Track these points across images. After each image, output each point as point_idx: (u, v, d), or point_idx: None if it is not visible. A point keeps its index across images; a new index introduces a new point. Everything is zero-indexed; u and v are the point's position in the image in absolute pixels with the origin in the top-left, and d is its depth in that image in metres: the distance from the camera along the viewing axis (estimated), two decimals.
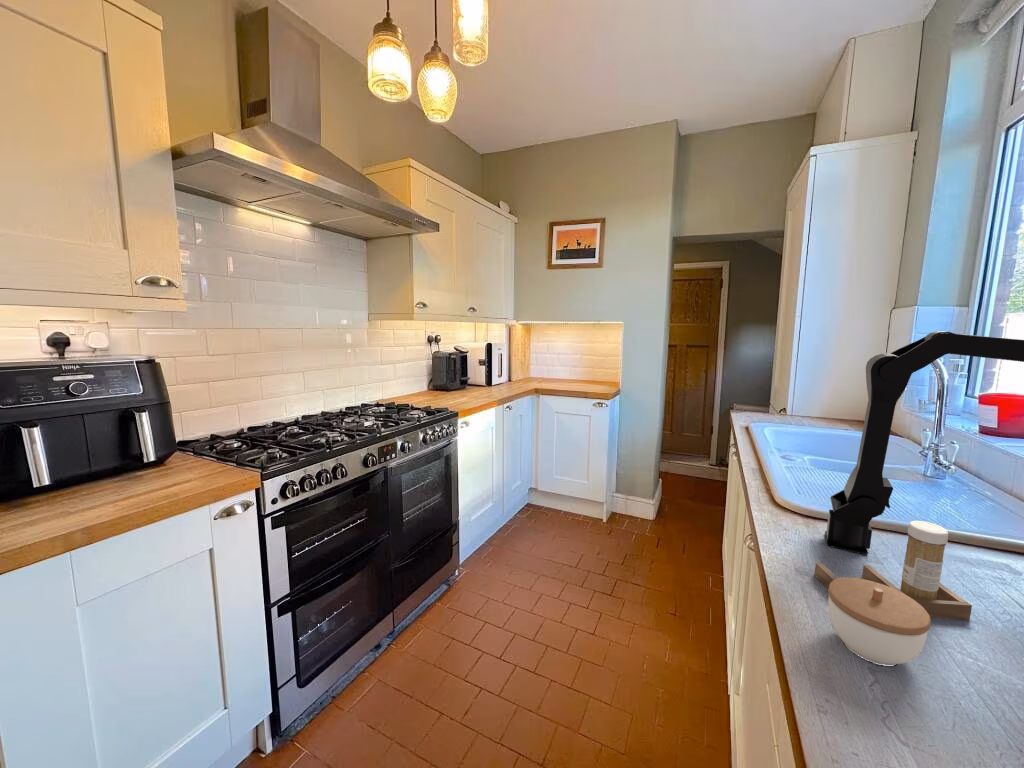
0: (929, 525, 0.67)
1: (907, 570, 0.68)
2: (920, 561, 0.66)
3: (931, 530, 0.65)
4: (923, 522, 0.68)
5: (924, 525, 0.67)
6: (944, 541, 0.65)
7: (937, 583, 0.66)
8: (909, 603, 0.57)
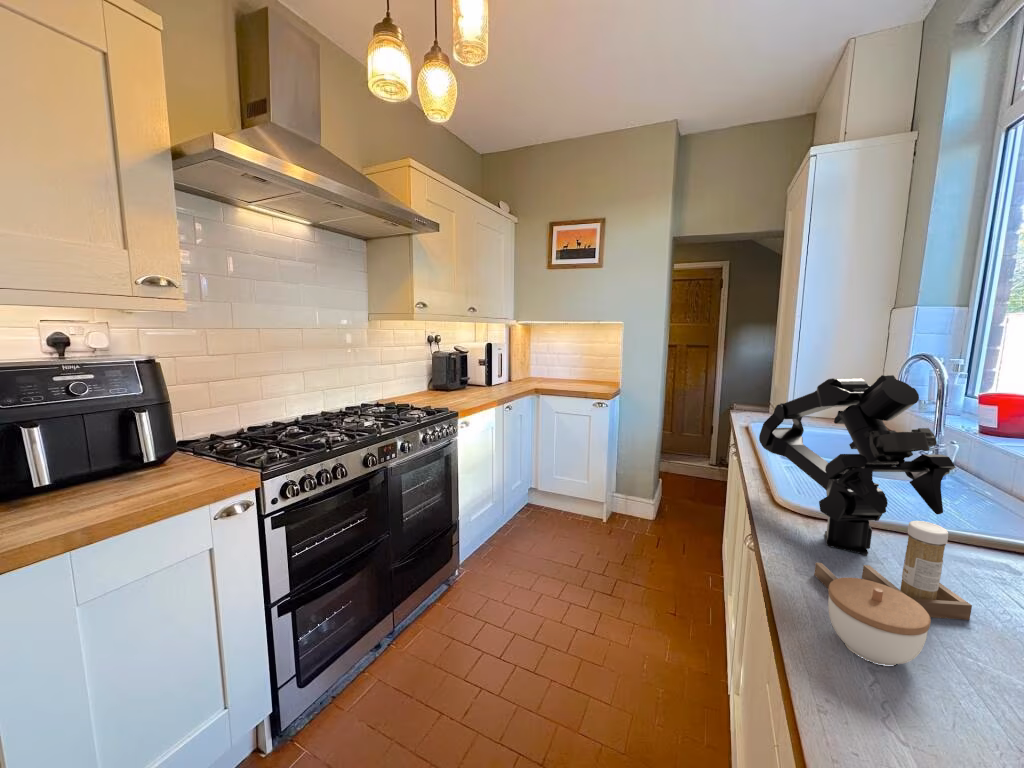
0: (929, 525, 0.67)
1: (907, 570, 0.68)
2: (920, 561, 0.66)
3: (931, 530, 0.65)
4: (923, 522, 0.68)
5: (924, 525, 0.67)
6: (944, 541, 0.65)
7: (937, 583, 0.66)
8: (909, 603, 0.57)
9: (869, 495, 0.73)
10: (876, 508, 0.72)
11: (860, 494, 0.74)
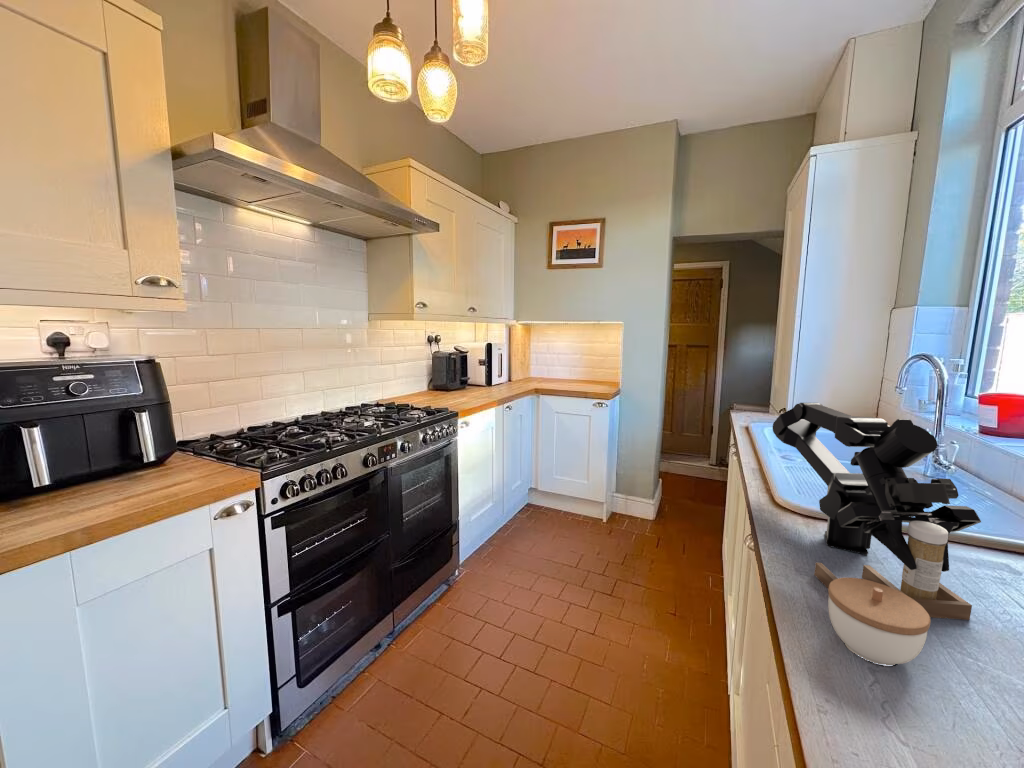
0: (929, 525, 0.67)
1: (907, 570, 0.68)
2: (920, 561, 0.66)
3: (931, 530, 0.65)
4: (923, 522, 0.68)
5: (924, 525, 0.67)
6: (944, 541, 0.65)
7: (937, 583, 0.66)
8: (909, 603, 0.57)
9: (898, 549, 0.68)
10: (906, 563, 0.67)
11: (888, 546, 0.70)
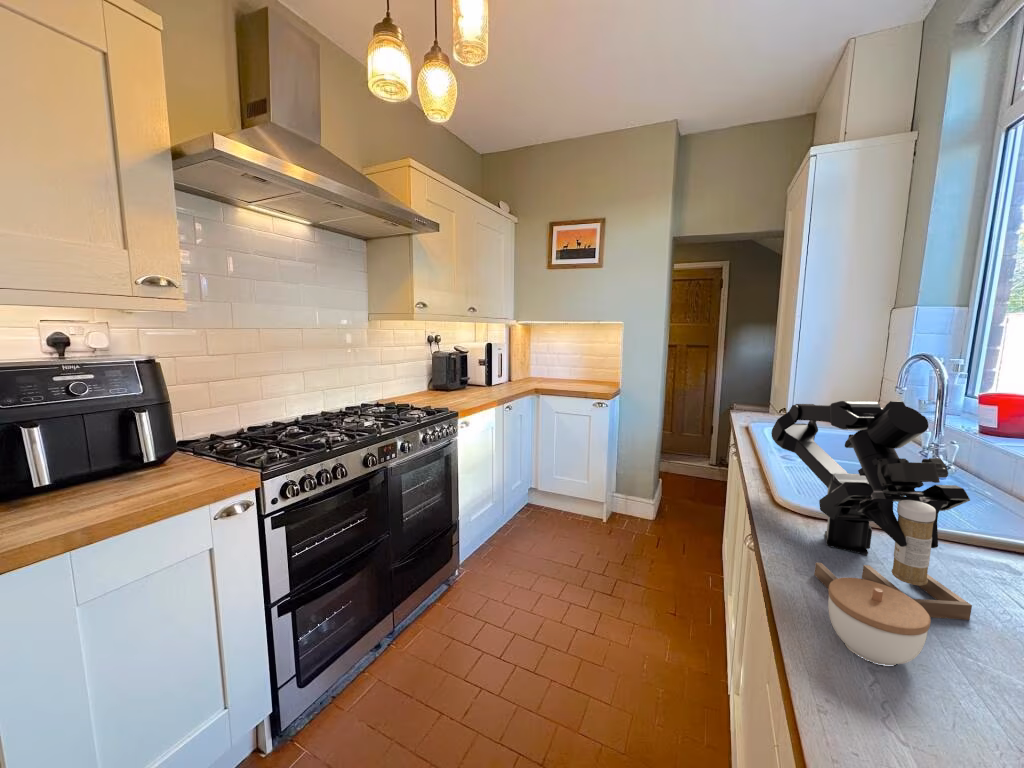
0: (918, 504, 0.69)
1: (898, 548, 0.70)
2: (909, 539, 0.68)
3: (919, 508, 0.67)
4: (912, 501, 0.70)
5: (912, 504, 0.69)
6: (932, 519, 0.66)
7: (927, 559, 0.68)
8: (909, 603, 0.57)
9: (889, 527, 0.70)
10: (896, 540, 0.69)
11: (880, 525, 0.72)
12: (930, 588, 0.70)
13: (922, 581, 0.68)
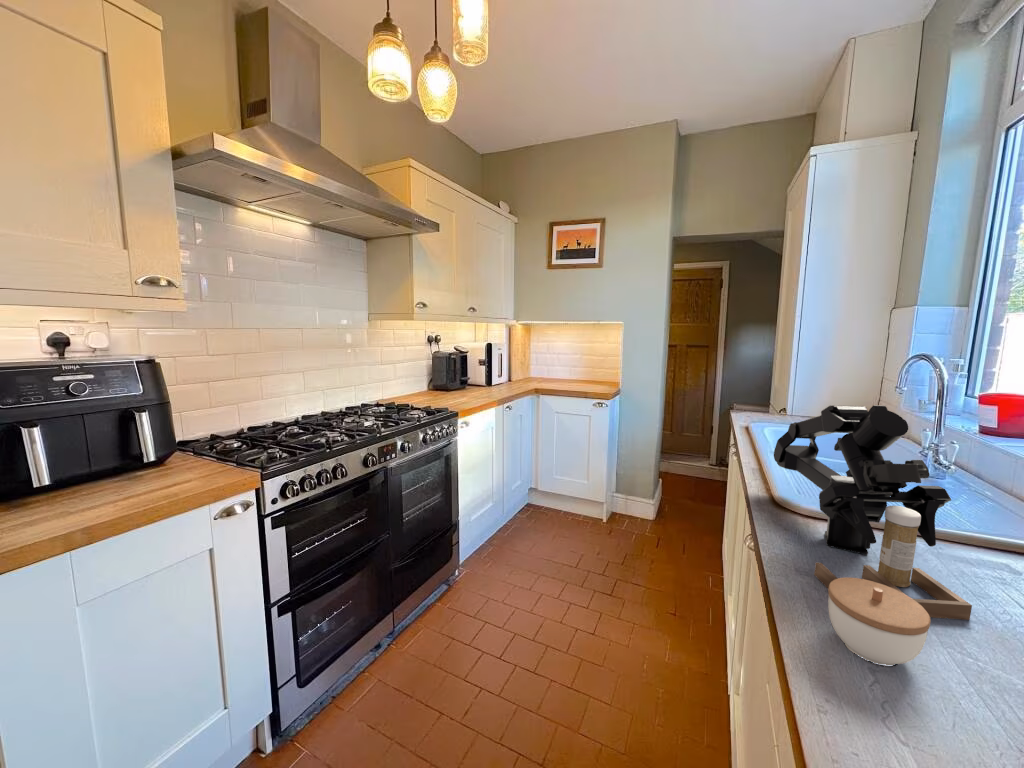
0: (904, 509, 0.72)
1: (884, 551, 0.73)
2: (895, 543, 0.72)
3: (905, 513, 0.71)
4: (898, 507, 0.73)
5: (899, 509, 0.72)
6: (917, 523, 0.70)
7: (911, 563, 0.71)
8: (909, 603, 0.57)
9: (860, 525, 0.74)
10: (867, 538, 0.73)
11: (852, 523, 0.75)
12: (930, 588, 0.70)
13: (905, 583, 0.72)
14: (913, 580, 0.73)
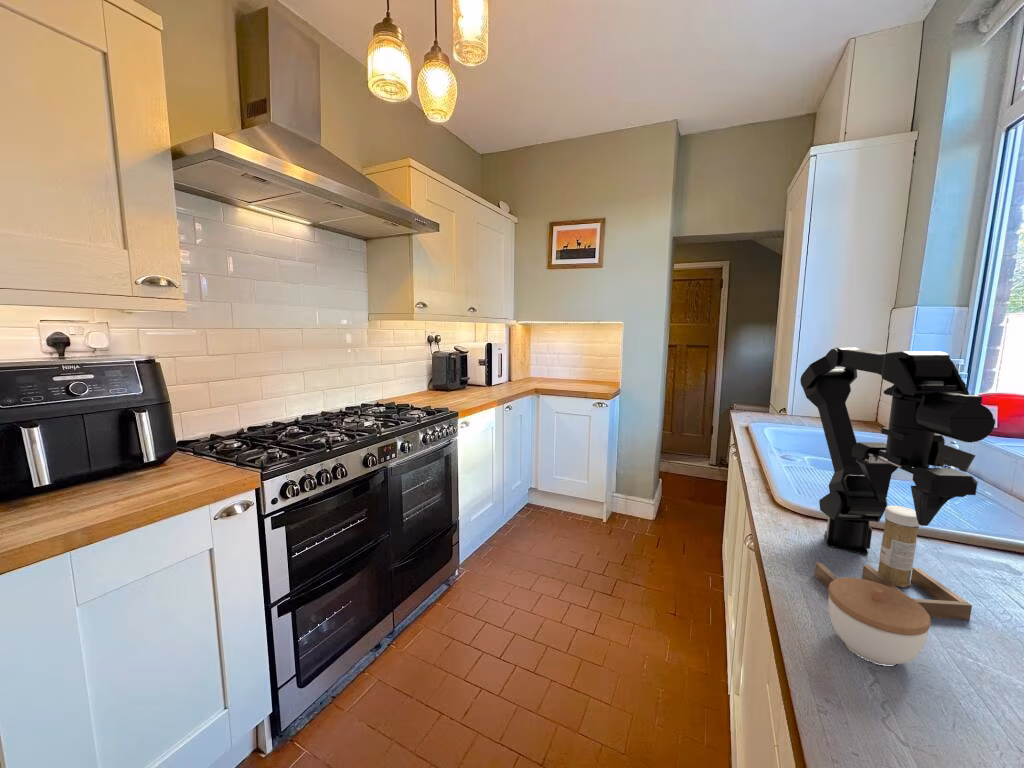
0: (904, 509, 0.72)
1: (884, 551, 0.73)
2: (895, 543, 0.72)
3: (905, 513, 0.71)
4: (898, 507, 0.73)
5: (899, 509, 0.72)
6: (917, 523, 0.70)
7: (911, 562, 0.71)
8: (909, 603, 0.57)
9: (932, 511, 0.66)
10: (923, 521, 0.67)
11: (923, 506, 0.66)
12: (930, 588, 0.70)
13: (905, 583, 0.72)
14: (913, 580, 0.73)
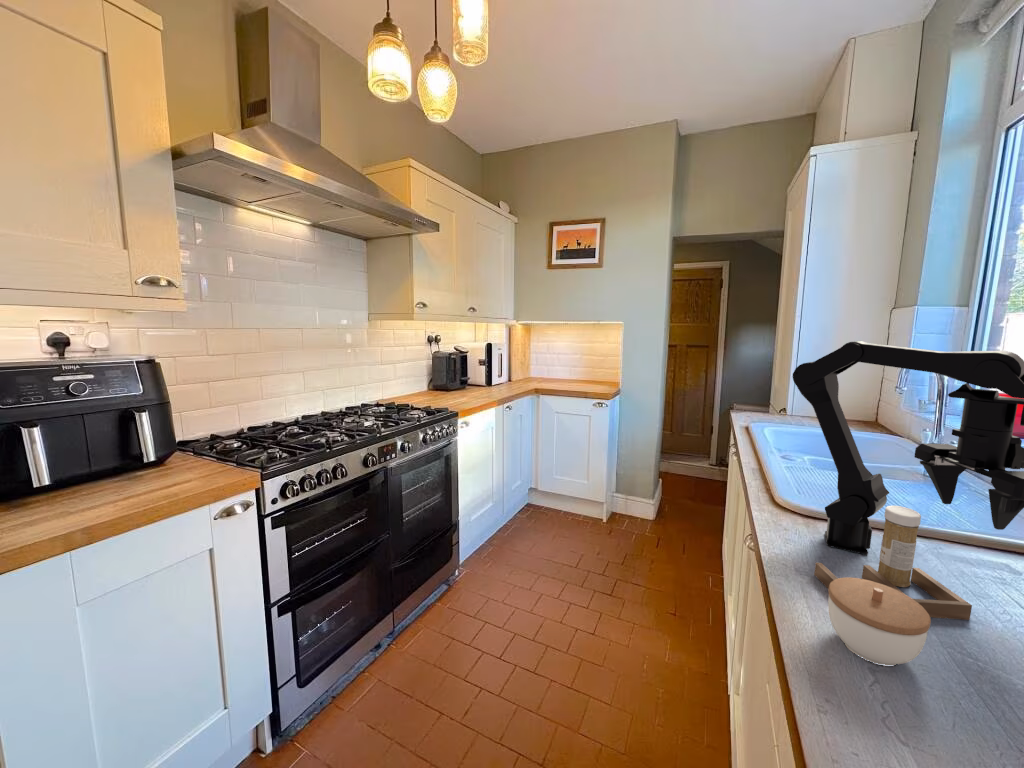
0: (904, 509, 0.72)
1: (884, 551, 0.73)
2: (895, 543, 0.72)
3: (905, 513, 0.71)
4: (898, 507, 0.73)
5: (899, 509, 0.72)
6: (917, 523, 0.70)
7: (911, 563, 0.71)
8: (909, 603, 0.57)
9: (1010, 514, 0.65)
10: (999, 525, 0.66)
11: (1001, 510, 0.64)
12: (930, 588, 0.70)
13: (905, 583, 0.72)
14: (913, 580, 0.73)
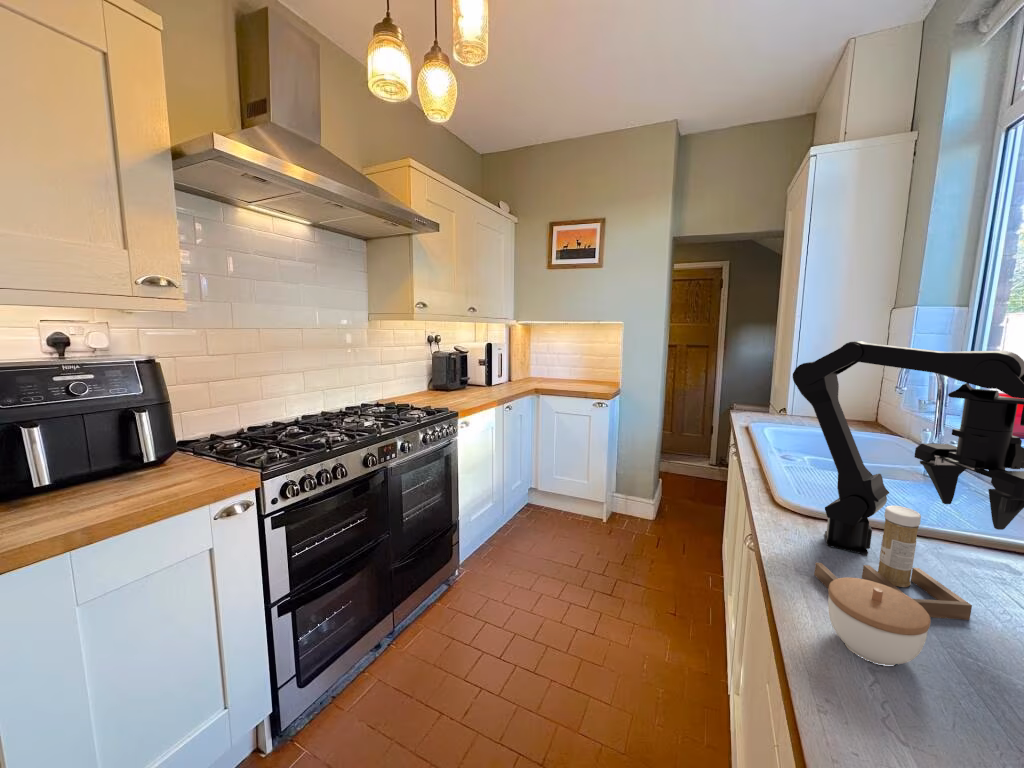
0: (904, 509, 0.72)
1: (884, 551, 0.73)
2: (895, 543, 0.72)
3: (905, 513, 0.71)
4: (898, 507, 0.73)
5: (899, 509, 0.72)
6: (917, 523, 0.70)
7: (911, 562, 0.71)
8: (909, 603, 0.57)
9: (1010, 514, 0.65)
10: (999, 525, 0.66)
11: (1001, 510, 0.64)
12: (930, 588, 0.70)
13: (905, 583, 0.72)
14: (913, 580, 0.73)
